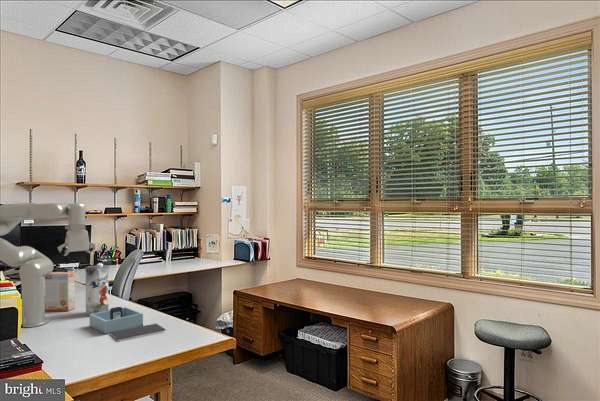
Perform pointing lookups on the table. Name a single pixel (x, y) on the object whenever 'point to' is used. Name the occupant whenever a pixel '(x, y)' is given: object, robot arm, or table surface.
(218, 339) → the table surface
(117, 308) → the ink cartridge
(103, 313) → the bin
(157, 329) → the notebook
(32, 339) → the table surface
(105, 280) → the juice carton
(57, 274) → the cracker box
